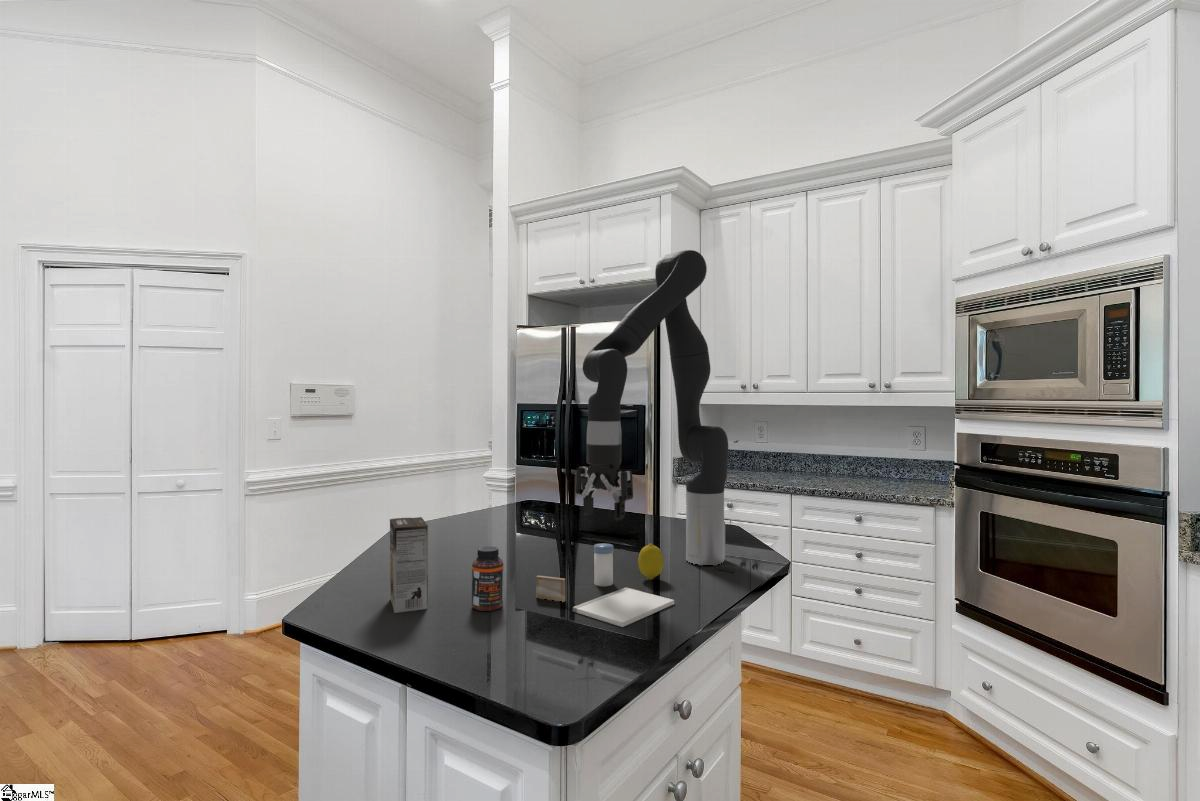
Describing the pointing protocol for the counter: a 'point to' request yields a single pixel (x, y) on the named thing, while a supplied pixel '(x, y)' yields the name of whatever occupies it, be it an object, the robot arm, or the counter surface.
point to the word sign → (550, 588)
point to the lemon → (650, 561)
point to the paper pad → (623, 606)
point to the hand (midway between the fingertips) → (603, 517)
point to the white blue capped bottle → (603, 564)
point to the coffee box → (408, 564)
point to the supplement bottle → (487, 580)
